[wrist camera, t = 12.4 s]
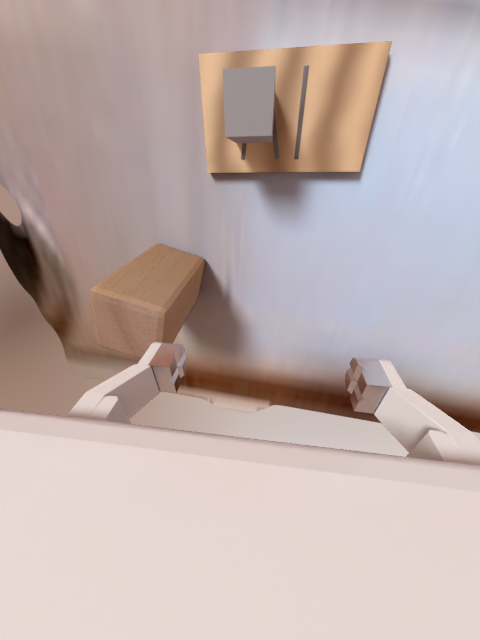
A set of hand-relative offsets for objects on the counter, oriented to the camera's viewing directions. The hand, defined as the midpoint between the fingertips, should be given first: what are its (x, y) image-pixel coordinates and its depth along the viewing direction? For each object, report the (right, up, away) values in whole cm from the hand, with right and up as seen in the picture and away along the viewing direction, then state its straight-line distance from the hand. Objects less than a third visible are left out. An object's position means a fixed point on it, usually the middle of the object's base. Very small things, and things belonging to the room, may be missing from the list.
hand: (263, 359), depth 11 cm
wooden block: (-14, +12, +35) cm, 39 cm away
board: (+5, +29, +19) cm, 36 cm away
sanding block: (+1, +29, +19) cm, 34 cm away
